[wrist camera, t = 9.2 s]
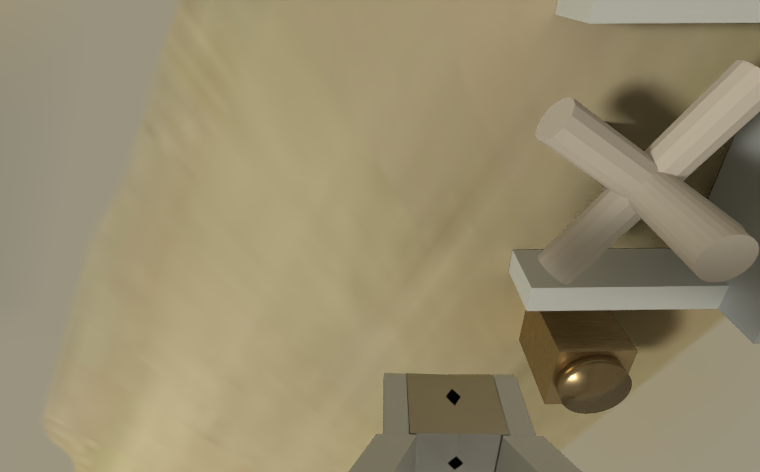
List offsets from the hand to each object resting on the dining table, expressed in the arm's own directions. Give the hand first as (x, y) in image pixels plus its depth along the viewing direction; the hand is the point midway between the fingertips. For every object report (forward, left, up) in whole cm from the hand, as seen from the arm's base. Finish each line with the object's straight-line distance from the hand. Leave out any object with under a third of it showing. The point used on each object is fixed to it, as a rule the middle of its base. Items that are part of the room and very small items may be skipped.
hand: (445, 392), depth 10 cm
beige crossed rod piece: (+1, -9, -14) cm, 17 cm away
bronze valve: (-10, -10, -14) cm, 20 cm away
